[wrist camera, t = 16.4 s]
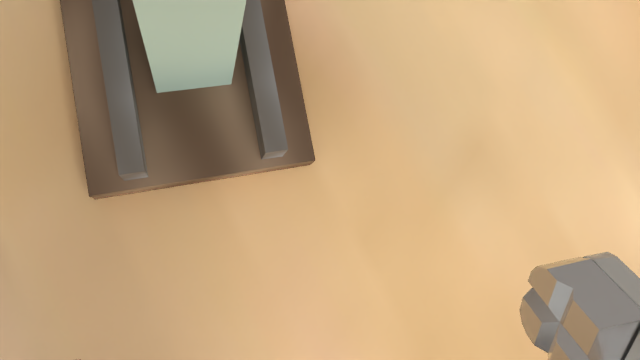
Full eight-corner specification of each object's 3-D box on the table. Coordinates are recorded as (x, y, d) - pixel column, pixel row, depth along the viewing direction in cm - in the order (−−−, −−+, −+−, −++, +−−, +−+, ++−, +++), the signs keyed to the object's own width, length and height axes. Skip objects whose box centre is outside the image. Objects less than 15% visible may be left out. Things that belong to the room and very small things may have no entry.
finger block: (218, 11, 30) (227, -125, 19) (231, 84, 29) (248, -14, 19) (144, 17, 29) (112, -122, 18) (156, 93, 28) (131, -5, 18)
